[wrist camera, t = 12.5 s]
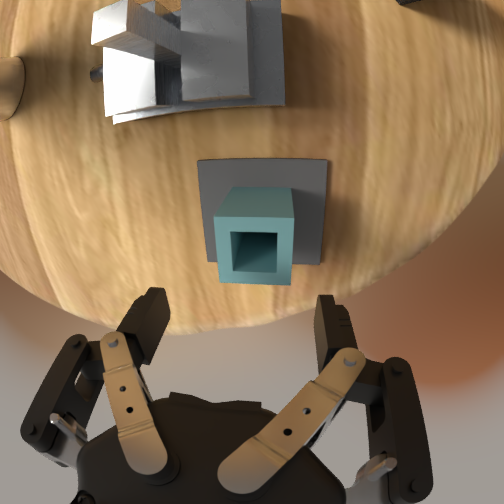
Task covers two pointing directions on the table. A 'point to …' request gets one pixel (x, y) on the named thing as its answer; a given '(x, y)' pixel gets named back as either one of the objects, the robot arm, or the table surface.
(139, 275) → the table surface
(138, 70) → the vise
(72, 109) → the table surface
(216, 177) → the mat
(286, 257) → the sleeve
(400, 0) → the ammunition clip
